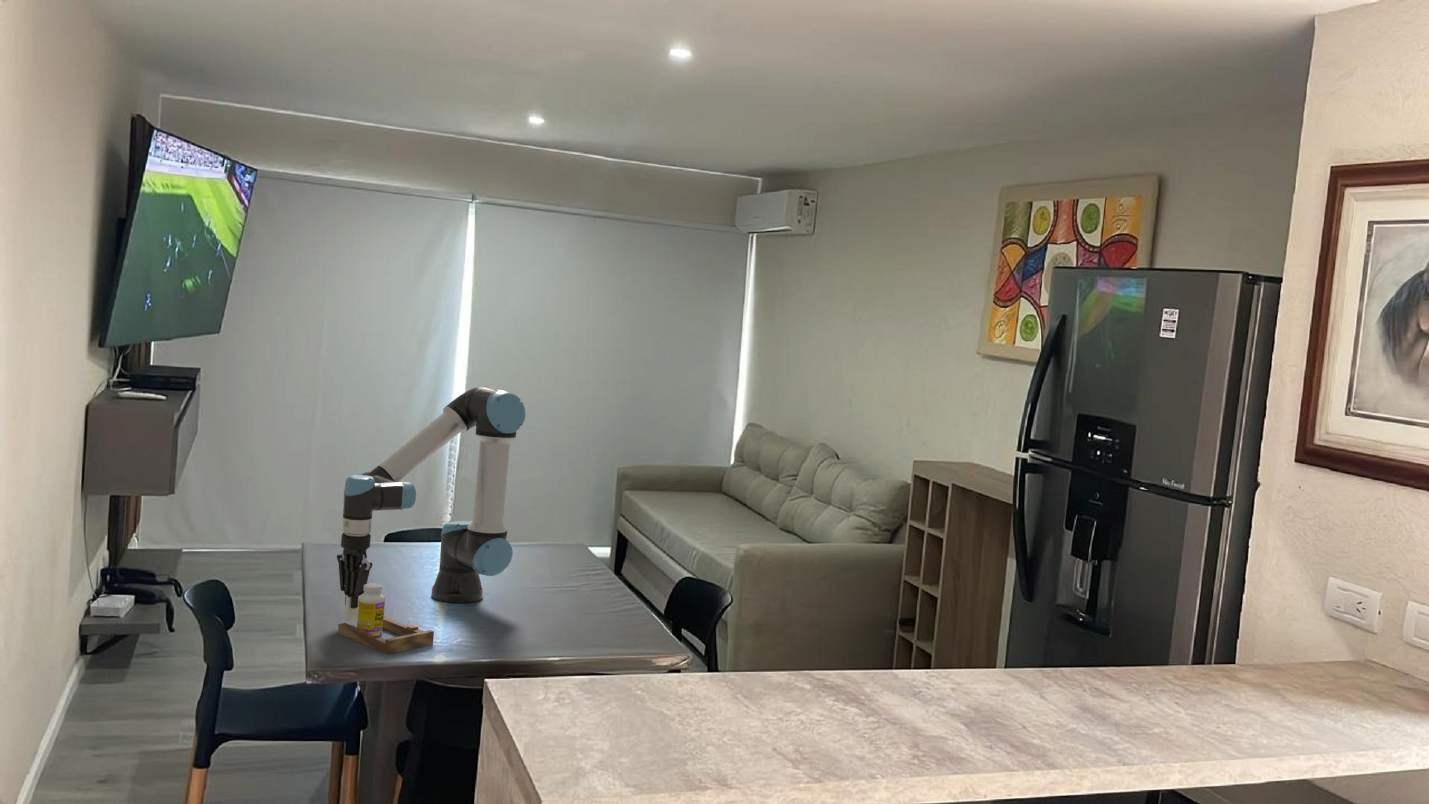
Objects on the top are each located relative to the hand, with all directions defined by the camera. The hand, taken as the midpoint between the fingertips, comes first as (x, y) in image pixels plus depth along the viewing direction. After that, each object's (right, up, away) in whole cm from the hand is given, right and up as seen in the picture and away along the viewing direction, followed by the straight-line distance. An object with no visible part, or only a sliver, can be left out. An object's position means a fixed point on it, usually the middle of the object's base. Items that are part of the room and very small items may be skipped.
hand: (350, 618), depth 307 cm
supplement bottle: (+7, -3, -5) cm, 9 cm away
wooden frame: (+11, -3, -9) cm, 15 cm away
